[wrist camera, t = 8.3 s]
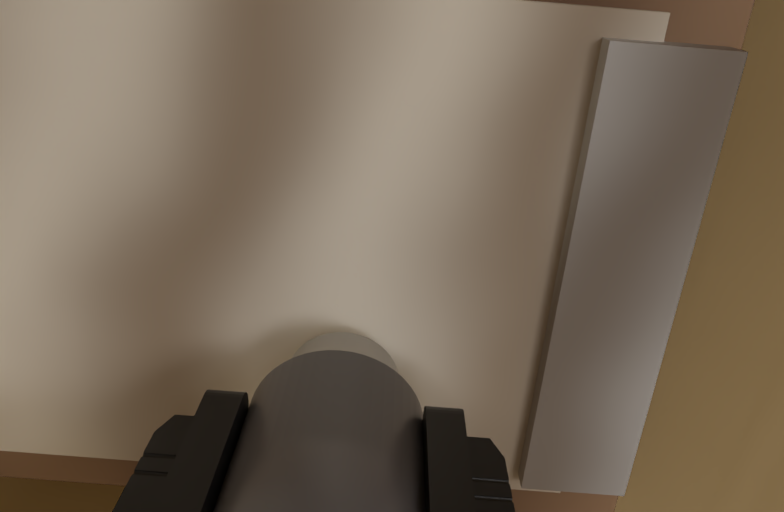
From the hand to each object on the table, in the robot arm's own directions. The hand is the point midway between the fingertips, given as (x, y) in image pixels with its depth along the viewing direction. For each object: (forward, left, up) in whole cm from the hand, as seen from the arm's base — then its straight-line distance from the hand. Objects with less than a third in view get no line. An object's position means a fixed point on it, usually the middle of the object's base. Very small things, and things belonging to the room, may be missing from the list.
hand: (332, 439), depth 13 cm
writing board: (+3, -2, -3) cm, 5 cm away
